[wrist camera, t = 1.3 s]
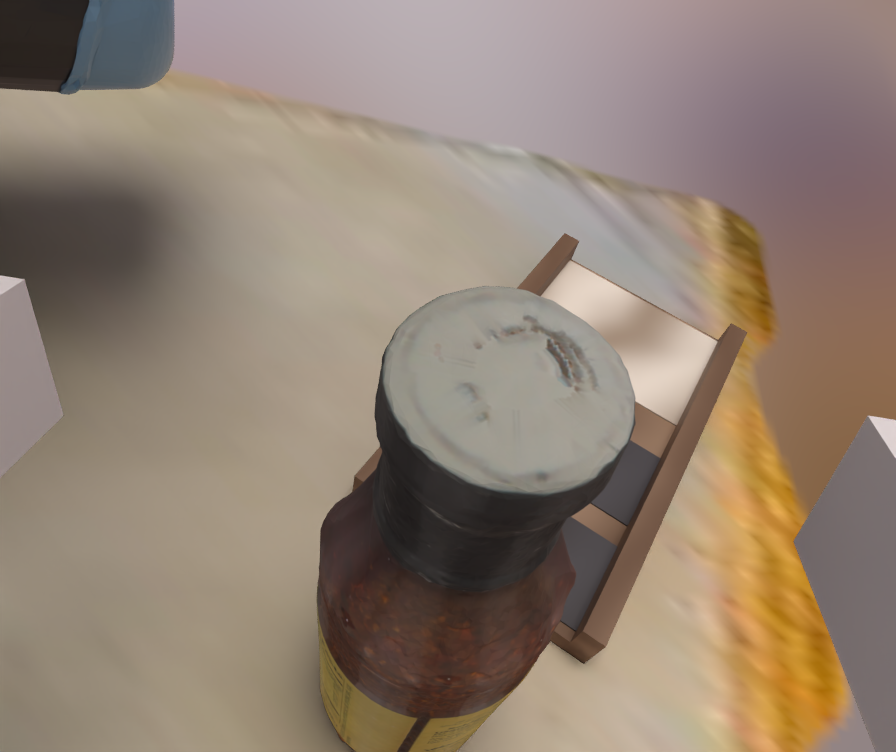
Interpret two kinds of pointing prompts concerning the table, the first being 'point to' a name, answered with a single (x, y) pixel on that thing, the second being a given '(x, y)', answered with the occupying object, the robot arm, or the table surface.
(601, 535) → the trap channel board
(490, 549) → the sauce bottle
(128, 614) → the table surface
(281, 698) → the table surface
